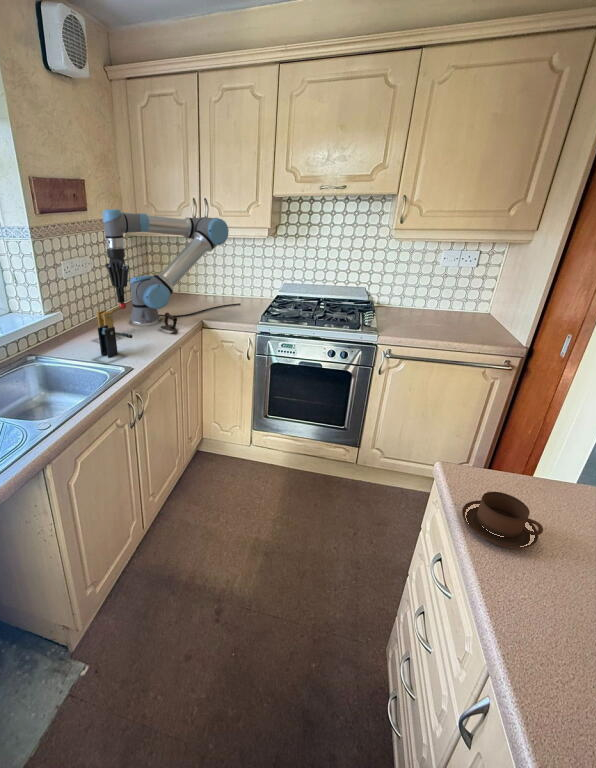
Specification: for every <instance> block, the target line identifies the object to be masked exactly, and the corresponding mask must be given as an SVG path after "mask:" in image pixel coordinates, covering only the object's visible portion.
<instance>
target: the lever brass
mask: <svg viewBox="0 0 596 768" xmlns="http://www.w3.org/2000/svg"><path fill="white" fill-rule="evenodd" d="M118 304H119V305H118V306H117V307H115V308H113V309H111V310H109V311H108V312H110V311H112V314H114V313H115V312H117V311H120V310H125V309H126V308H127V304H126V302H122V303H118ZM106 312H107V311H106ZM106 312H103V313H106ZM103 313H102V314H100V315H101V318H102V319H103ZM103 320H104V319H103Z"/></svg>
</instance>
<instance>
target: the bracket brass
mask: <svg viewBox="0 0 596 768" xmlns="http://www.w3.org/2000/svg"><path fill="white" fill-rule="evenodd" d="M109 311H110V312H109ZM109 311H107V310H106V309H103V310H100V311H99V310H98V311H96V316H97V317H96V318H97V323H98V324H97V325H98V327H102V326H105V325H108V328H110V327H115V326H114V317H113V313H112V311H111V310H109ZM103 312H106V313H103ZM102 313H103V319H104V320H103V319H102V318H101V315H100V314H102Z"/></svg>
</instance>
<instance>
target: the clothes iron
mask: <svg viewBox="0 0 596 768" xmlns="http://www.w3.org/2000/svg"><path fill="white" fill-rule="evenodd" d="M164 315H165V317H164V325H161V326H159V328H160V329H163V330H165V331H168V332H169V334H170V335H177V334H178V330H177V328H176V326H177V321H178V317H173V316H174V315H172V314H170V313H169V312H165V313H164ZM169 319H170V320H171V321H172V324H169Z"/></svg>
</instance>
